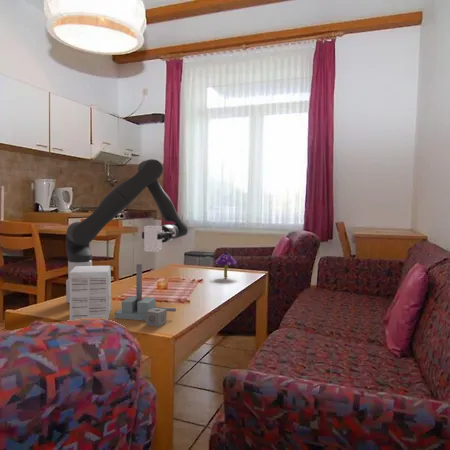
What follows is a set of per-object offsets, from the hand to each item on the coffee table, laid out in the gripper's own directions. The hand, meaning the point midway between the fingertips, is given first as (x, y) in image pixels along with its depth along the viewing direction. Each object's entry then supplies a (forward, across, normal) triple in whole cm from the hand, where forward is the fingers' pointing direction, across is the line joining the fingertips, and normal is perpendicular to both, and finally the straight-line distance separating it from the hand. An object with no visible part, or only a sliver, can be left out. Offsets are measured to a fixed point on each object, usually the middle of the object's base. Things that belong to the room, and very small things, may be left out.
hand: (150, 236), depth 149 cm
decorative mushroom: (-65, +19, +29) cm, 74 cm away
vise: (+12, +3, +28) cm, 31 cm away
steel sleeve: (-3, 0, +6) cm, 7 cm away
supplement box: (+16, -17, +28) cm, 37 cm away
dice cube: (+19, +10, +29) cm, 36 cm away
